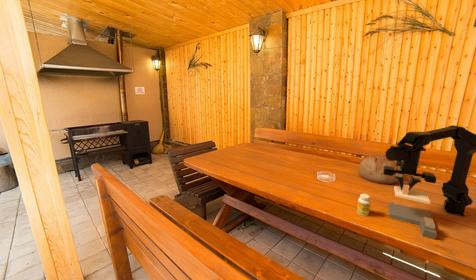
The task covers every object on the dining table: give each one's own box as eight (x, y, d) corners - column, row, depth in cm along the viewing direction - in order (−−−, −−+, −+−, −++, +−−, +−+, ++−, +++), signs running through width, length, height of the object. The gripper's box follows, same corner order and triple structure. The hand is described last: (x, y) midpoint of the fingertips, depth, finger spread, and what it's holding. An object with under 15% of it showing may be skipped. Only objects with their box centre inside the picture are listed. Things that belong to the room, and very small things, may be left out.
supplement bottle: (364, 209, 105) (366, 192, 103) (371, 215, 100) (374, 198, 98) (354, 210, 105) (356, 193, 103) (360, 216, 100) (363, 198, 98)
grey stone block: (431, 223, 89) (432, 219, 89) (434, 229, 85) (435, 225, 85) (422, 220, 91) (423, 216, 90) (424, 227, 87) (425, 223, 86)
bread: (360, 167, 159) (363, 148, 155) (398, 174, 146) (401, 154, 142) (355, 179, 139) (358, 158, 135) (398, 188, 125) (403, 166, 121)
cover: (425, 193, 98) (427, 183, 96) (429, 203, 90) (432, 192, 88) (394, 187, 104) (395, 177, 103) (395, 196, 96) (397, 185, 95)
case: (428, 215, 100) (429, 209, 99) (438, 240, 83) (440, 234, 83) (388, 205, 108) (388, 200, 107) (390, 227, 92) (391, 221, 91)
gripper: (434, 157, 95) (427, 188, 99) (385, 151, 105) (380, 179, 109) (440, 165, 86) (432, 198, 90) (386, 158, 96) (381, 188, 100)
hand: (404, 190), depth 98 cm, fingers closed on cover
